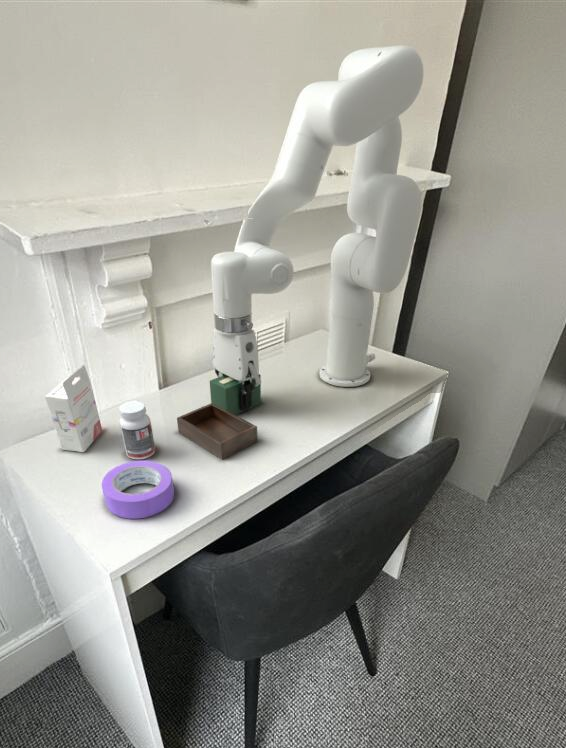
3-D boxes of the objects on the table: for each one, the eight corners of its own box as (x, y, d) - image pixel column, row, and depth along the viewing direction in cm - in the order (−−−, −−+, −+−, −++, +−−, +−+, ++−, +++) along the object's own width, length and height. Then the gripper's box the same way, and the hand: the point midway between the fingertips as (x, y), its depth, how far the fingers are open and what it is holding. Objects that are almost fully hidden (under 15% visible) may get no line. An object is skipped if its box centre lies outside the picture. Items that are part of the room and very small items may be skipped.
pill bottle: (161, 453, 97) (153, 407, 90) (135, 464, 94) (126, 417, 87) (146, 441, 100) (137, 396, 94) (120, 451, 97) (110, 406, 91)
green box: (244, 395, 116) (243, 366, 111) (260, 403, 113) (260, 373, 108) (211, 410, 110) (209, 379, 106) (227, 418, 107) (226, 388, 103)
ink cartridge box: (81, 428, 104) (63, 361, 94) (103, 431, 103) (87, 363, 94) (60, 450, 97) (38, 380, 88) (83, 453, 97) (64, 383, 87)
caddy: (213, 417, 108) (212, 402, 105) (257, 441, 100) (257, 426, 98) (178, 432, 103) (176, 417, 100) (222, 459, 95) (220, 444, 93)
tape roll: (188, 495, 86) (186, 478, 84) (133, 528, 80) (129, 510, 77) (146, 470, 92) (143, 452, 90) (92, 498, 86) (87, 480, 83)
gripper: (276, 328, 97) (275, 411, 108) (219, 307, 106) (224, 386, 118) (248, 337, 93) (250, 423, 104) (191, 315, 102) (199, 396, 114)
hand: (236, 402), depth 111 cm, fingers closed on green box, 5 cm apart
